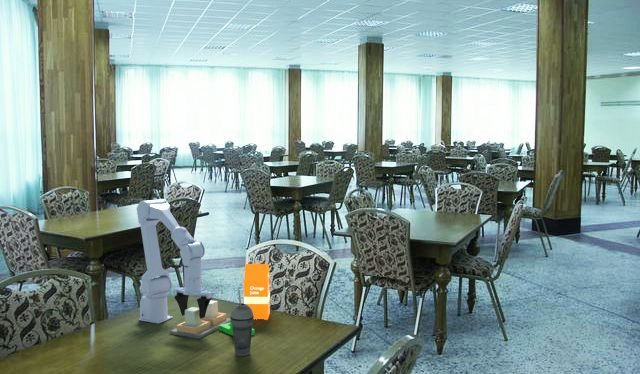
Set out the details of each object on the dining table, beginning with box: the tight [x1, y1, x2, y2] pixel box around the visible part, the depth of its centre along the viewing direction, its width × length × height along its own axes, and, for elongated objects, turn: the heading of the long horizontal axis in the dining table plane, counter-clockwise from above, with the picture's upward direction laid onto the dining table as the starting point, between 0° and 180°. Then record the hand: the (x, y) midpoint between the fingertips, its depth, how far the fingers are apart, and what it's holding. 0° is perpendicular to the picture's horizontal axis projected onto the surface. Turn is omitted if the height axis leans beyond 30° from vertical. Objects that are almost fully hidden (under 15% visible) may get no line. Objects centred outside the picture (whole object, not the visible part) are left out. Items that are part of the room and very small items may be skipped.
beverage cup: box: [229, 288, 254, 357], centre depth 178 cm, size 7×7×20 cm
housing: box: [169, 311, 230, 340], centre depth 203 cm, size 12×20×3 cm, turn 155°
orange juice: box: [243, 263, 271, 321], centre depth 215 cm, size 8×9×20 cm
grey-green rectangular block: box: [205, 299, 219, 319], centre depth 207 cm, size 4×4×7 cm
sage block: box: [184, 306, 202, 327], centre depth 198 cm, size 4×4×7 cm
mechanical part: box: [218, 319, 256, 337], centre depth 198 cm, size 12×6×8 cm, turn 45°
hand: (193, 316), depth 198 cm, fingers open, 7 cm apart
